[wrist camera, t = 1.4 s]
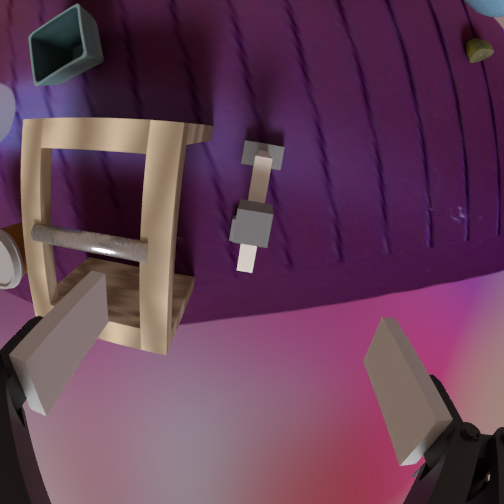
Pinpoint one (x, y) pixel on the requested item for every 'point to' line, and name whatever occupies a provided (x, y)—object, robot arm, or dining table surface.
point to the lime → (478, 50)
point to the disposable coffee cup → (12, 256)
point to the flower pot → (65, 47)
